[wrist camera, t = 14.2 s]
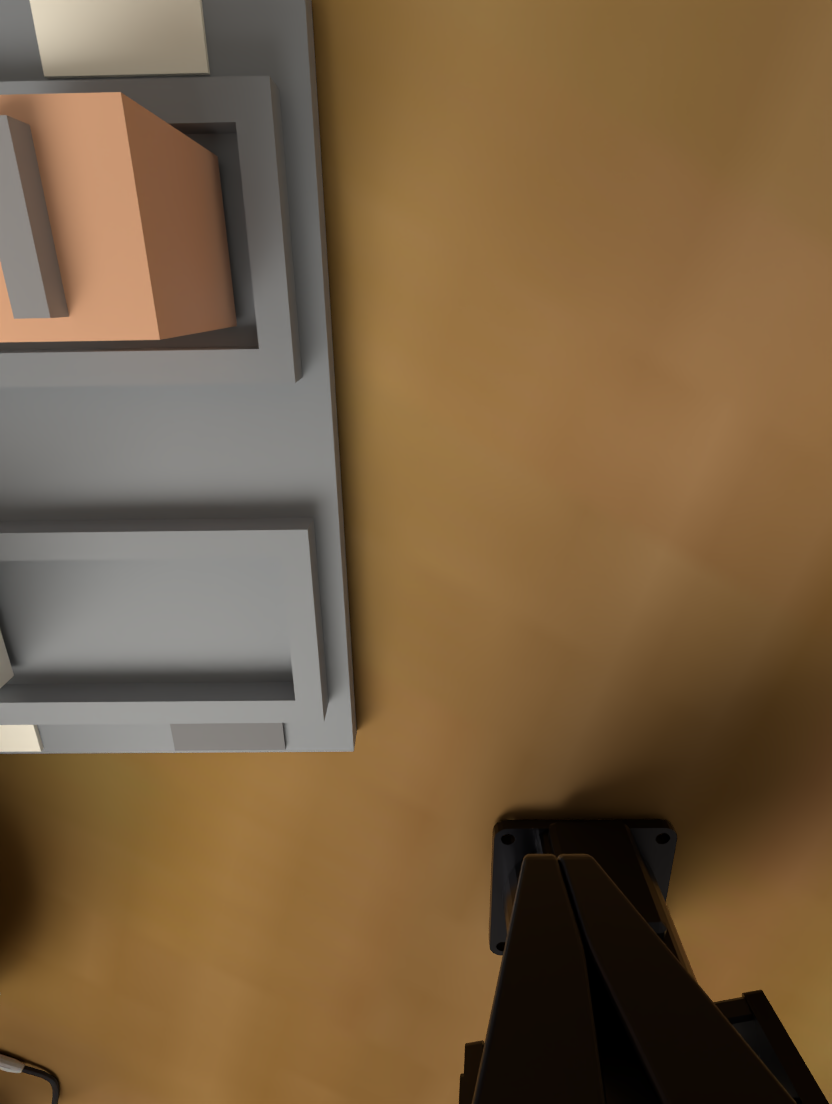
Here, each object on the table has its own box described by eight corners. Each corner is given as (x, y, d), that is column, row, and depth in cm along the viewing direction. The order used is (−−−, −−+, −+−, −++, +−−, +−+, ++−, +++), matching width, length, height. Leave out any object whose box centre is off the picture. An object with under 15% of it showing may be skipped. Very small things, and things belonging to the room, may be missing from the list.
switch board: (356, 731, 22) (350, 772, 20) (-106, 735, 22) (-154, 775, 20) (311, 1, 14) (294, -43, 13) (-388, 17, 15) (-506, -23, 13)
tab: (237, 326, 16) (146, 341, 11) (92, 328, 16) (-70, 345, 11) (217, 156, 14) (102, 79, 9) (59, 159, 14) (-144, 85, 9)
